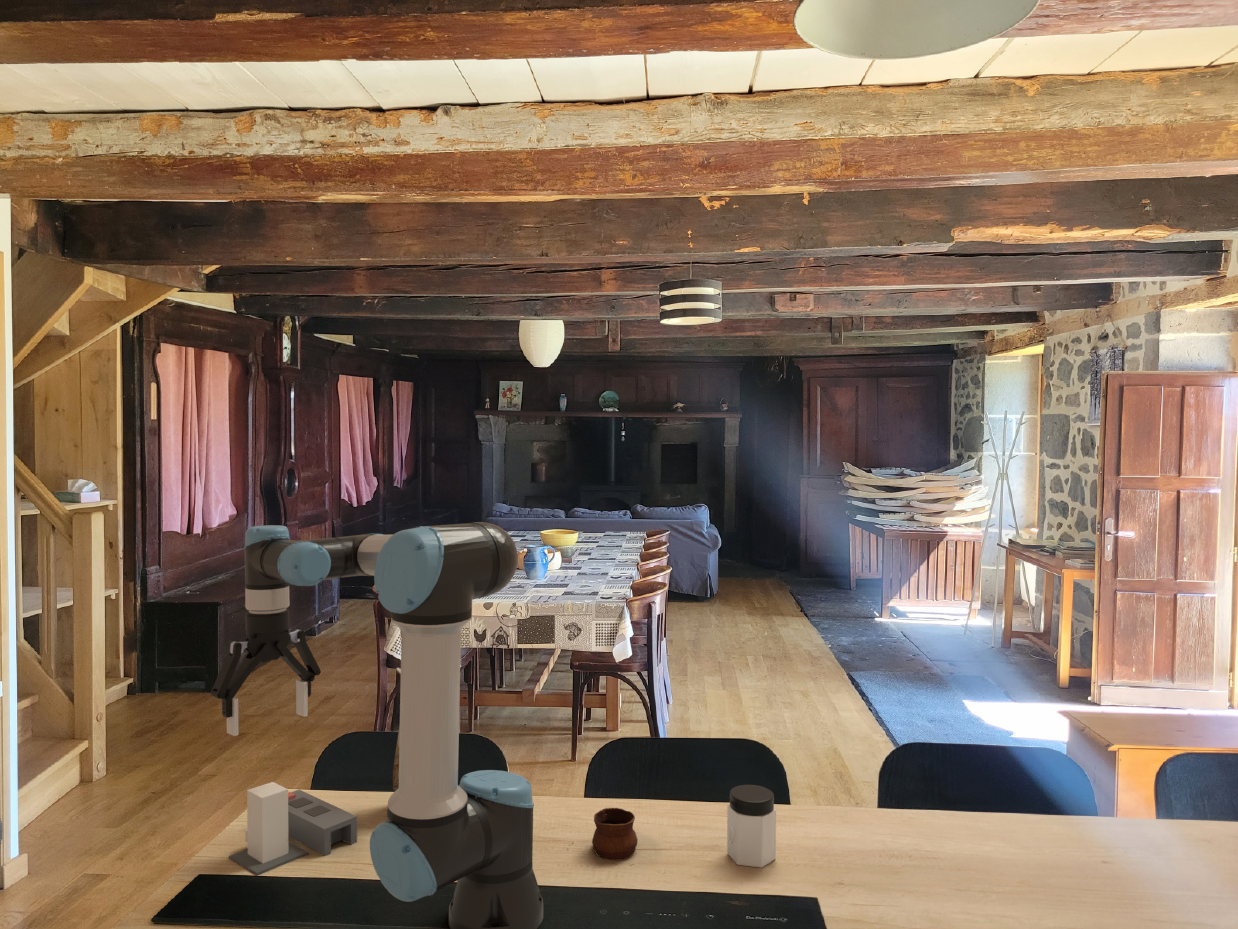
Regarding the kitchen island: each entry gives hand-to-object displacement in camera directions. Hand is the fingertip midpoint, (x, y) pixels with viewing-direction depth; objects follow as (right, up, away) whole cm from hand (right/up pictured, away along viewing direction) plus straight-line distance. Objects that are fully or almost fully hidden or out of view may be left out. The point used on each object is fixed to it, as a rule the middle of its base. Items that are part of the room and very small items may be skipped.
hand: (268, 724), depth 158 cm
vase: (+23, -24, +21) cm, 39 cm away
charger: (-2, -24, +2) cm, 24 cm away
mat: (0, -25, +1) cm, 25 cm away
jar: (+89, -25, +2) cm, 93 cm away
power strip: (+4, -24, +10) cm, 27 cm away
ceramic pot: (+64, -26, +4) cm, 69 cm away
